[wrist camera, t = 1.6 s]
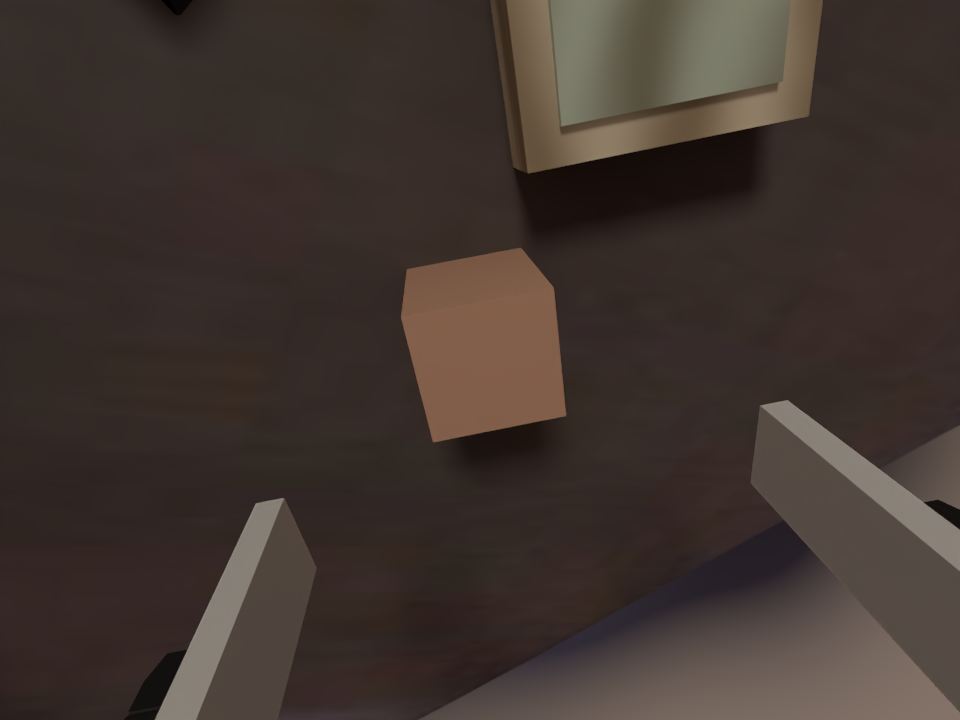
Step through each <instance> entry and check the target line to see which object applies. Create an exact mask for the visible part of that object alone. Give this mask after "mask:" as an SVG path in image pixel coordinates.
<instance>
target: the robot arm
mask: <svg viewBox="0 0 960 720" xmlns="http://www.w3.org/2000/svg"><path fill="white" fill-rule="evenodd" d="M751 484H752V485H753V486H754V487H755V488H756V490H757V491H758V492H759V493H760V494H761V495H762V496H763V497H764V498H765V499H766V500H767V502H768V503H769V504H770V505H771V506H772V507H773V508H774V509H775V510H776V511H777V513H778V514H779V515H780V516H781V517H782V518H783V519H784V520H785V521H786V522H787V523H788V525H789V526H790V527H791V528H792V529H793V530H794V531H795V532H796V533H797V534H798V536H799V537H800V538H801V539H802V540H803V541H804V542H805V543H806V544H807V545H808V546H809V548H810V549H812V551H813V552H814V553H815V554H816V555H817V556H818V557H819V558H820V560H821V561H822V562H823V563H824V564H825V565H826V566H827V567H828V568H829V569H830V571H831V572H832V573H833V574H834V575H835V576H836V577H837V578H838V579H839V580H840V582H841V583H842V584H843V585H844V586H845V587H846V588H847V589H848V590H849V591H850V593H851V594H852V595H853V596H854V597H855V598H856V599H857V600H858V601H859V602H860V603H861V604H862V606H863V607H864V608H865V609H866V610H867V611H868V612H869V613H870V614H871V615H872V617H873V618H874V619H875V620H876V621H877V622H878V623H879V624H880V625H881V626H882V628H883V629H884V630H885V631H886V632H887V633H888V634H889V635H890V636H891V637H892V638H893V640H894V641H895V642H896V643H897V644H898V645H899V646H900V647H901V648H902V649H903V651H904V652H905V653H906V654H907V655H908V656H909V657H910V658H911V659H912V660H913V661H914V663H915V664H916V665H917V666H918V667H919V668H920V669H921V670H922V671H923V672H924V673H925V675H926V676H927V677H928V678H929V679H930V680H931V681H932V682H933V683H934V684H935V686H936V687H937V688H938V689H939V690H940V691H941V692H942V693H943V694H944V695H945V697H946V698H947V699H948V700H949V701H950V702H951V703H952V704H953V705H954V706H955V708H956V709H957V710H958V711H959V712H960V510H959V509H957V508H955V507H953V506H951V505H948V504H946V503H944V502H942V501H939V500H935V501H929V502H924V503H923V502H922V501H921V500H919V499H918V498H916V497H915V496H914V495H913V494H911V493H910V492H909V491H907V490H906V489H905V488H903V487H902V486H901V485H899V484H898V483H897V482H895V481H894V480H893V479H891V478H890V477H889V476H887V475H886V474H885V473H883V472H882V471H881V470H879V469H878V468H877V467H875V466H874V465H873V464H871V463H870V462H869V461H867V460H866V459H865V458H863V457H862V456H861V455H859V454H858V453H857V452H856V451H854V450H853V449H852V448H850V447H849V446H848V445H846V444H845V443H844V442H842V441H841V440H840V439H838V438H837V437H836V436H834V435H833V434H832V433H830V432H829V431H828V430H826V429H825V428H824V427H822V426H821V425H820V424H818V423H817V422H816V421H814V420H813V419H812V418H810V417H809V416H808V415H806V414H805V413H804V412H802V411H801V410H800V409H798V408H797V407H796V406H794V405H793V404H792V403H790V402H789V401H788V400H787V401H781V402H776V403H771V404H766V405H761V406H760V410H759V418H758V427H757V435H756V443H755V451H754V459H753V467H752V475H751ZM316 569H317V568H316V566H315V564H314V561H313V559H312V557H311V555H310V553H309V551H308V548H307V546H306V544H305V542H304V540H303V538H302V536H301V533H300V531H299V529H298V527H297V525H296V523H295V520H294V518H293V516H292V514H291V512H290V510H289V507H288V505H287V503H286V501H285V499H284V498H281V499H276V500H271V501H266V502H261V503H256V504H255V506H254V509H253V511H252V513H251V515H250V517H249V519H248V521H247V524H246V526H245V528H244V530H243V532H242V534H241V536H240V539H239V541H238V543H237V545H236V547H235V549H234V551H233V554H232V556H231V558H230V560H229V562H228V564H227V566H226V569H225V571H224V573H223V575H222V577H221V579H220V581H219V584H218V586H217V588H216V590H215V592H214V594H213V596H212V599H211V601H210V603H209V605H208V607H207V609H206V611H205V613H204V616H203V618H202V620H201V622H200V624H199V626H198V628H197V631H196V633H195V635H194V637H193V639H192V641H191V643H190V646H189V648H188V650H183V651H178V652H173V653H168V654H167V655H166V656H165V657H164V658H163V659H162V661H161V662H160V663H159V664H158V665H157V667H156V668H155V669H154V670H153V671H152V673H151V674H150V675H149V676H148V677H147V679H146V680H145V681H144V683H143V685H142V687H141V689H140V690H139V692H138V694H137V696H136V698H135V700H134V702H133V704H132V706H131V708H130V710H129V716H128V717H125V719H124V720H277V719H278V715H279V711H280V708H281V704H282V700H283V696H284V692H285V688H286V684H287V681H288V677H289V673H290V669H291V665H292V661H293V657H294V654H295V650H296V646H297V642H298V638H299V634H300V630H301V626H302V623H303V619H304V615H305V611H306V607H307V603H308V599H309V596H310V592H311V588H312V584H313V580H314V576H315V572H316Z"/></svg>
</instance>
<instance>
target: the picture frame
mask: <svg viewBox="0 0 960 720" xmlns="http://www.w3.org/2000/svg"><path fill="white" fill-rule="evenodd" d="M490 2H491V9H492V17H493V24H494V31H495V39H496V46H497V53H498V60H499V68H500V75H501V82H502V90H503V97H504V104H505V111H506V119H507V126H508V133H509V141H510V148H511V155H512V162H513V168H516V169H518V170H520V171H523V172H525V173H533V172H538V171H543V170H548V169H553V168H558V167H563V166H567V165H572V164H577V163H582V162H587V161H592V160H597V159H602V158H607V157H611V156H616V155H621V154H626V153H631V152H636V151H641V150H646V149H651V148H655V147H660V146H665V145H670V144H675V143H680V142H685V141H690V140H695V139H699V138H704V137H709V136H714V135H719V134H724V133H729V132H734V131H739V130H743V129H748V128H753V127H758V126H763V125H768V124H773V123H778V122H783V121H787V120H792V119H797V118H802V117H807V116H809V109H810V101H811V93H812V85H813V76H814V68H815V60H816V52H817V44H818V36H819V28H820V20H821V11H822V3H823V0H490Z"/></svg>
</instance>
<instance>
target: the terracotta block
mask: <svg viewBox="0 0 960 720" xmlns="http://www.w3.org/2000/svg"><path fill="white" fill-rule="evenodd" d="M401 319H402V323H403V327H404V331H405V335H406V339H407V342H408V346H409V350H410V354H411V358H412V362H413V366H414V370H415V374H416V377H417V381H418V385H419V389H420V393H421V397H422V401H423V405H424V408H425V412H426V416H427V420H428V424H429V428H430V432H431V436H432V440H433V442H438V441H443V440H448V439H453V438H458V437H463V436H468V435H473V434H478V433H483V432H488V431H493V430H498V429H503V428H508V427H513V426H518V425H523V424H528V423H533V422H538V421H543V420H548V419H553V418H558V417H563V416H566V410H565V399H564V389H563V378H562V368H561V358H560V347H559V337H558V326H557V316H556V306H555V295H554V287H553V286H552V285H551V284H550V283H549V281H548V280H547V279H546V278H545V277H544V275H543V274H542V273H541V272H540V270H539V269H538V268H537V267H536V266H535V264H534V263H533V262H532V261H531V260H530V258H529V257H528V256H527V255H526V253H525V252H524V251H523V250H522V249H521V248H517V249H512V250H507V251H501V252H496V253H491V254H485V255H480V256H475V257H470V258H464V259H459V260H454V261H449V262H443V263H438V264H433V265H428V266H422V267H417V268H412V269H407V273H406V281H405V289H404V297H403V305H402V313H401Z"/></svg>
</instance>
